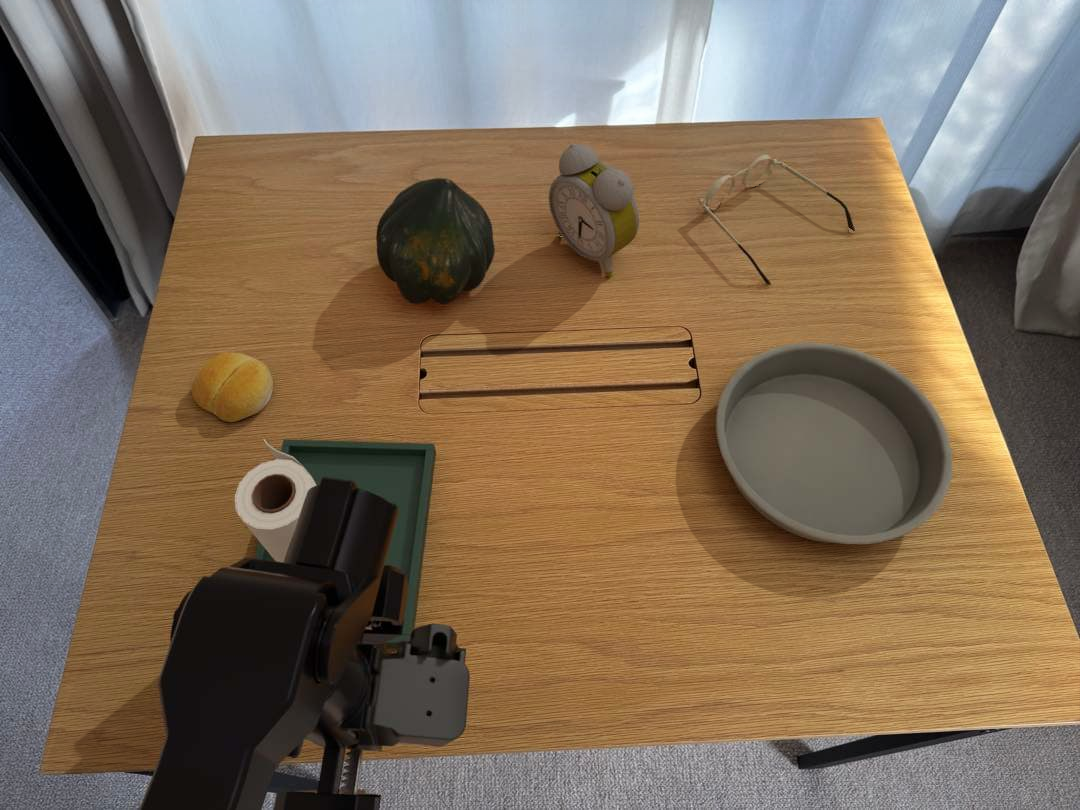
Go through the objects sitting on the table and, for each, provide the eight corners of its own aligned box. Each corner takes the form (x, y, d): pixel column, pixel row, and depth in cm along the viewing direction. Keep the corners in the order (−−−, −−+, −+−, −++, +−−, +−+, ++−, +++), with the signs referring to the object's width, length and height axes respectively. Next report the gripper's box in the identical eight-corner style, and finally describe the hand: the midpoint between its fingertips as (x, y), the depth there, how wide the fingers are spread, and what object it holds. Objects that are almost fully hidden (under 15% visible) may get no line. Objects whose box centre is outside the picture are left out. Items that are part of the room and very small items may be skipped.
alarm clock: (546, 237, 103) (546, 146, 90) (583, 213, 105) (588, 121, 93) (606, 287, 98) (615, 198, 85) (643, 261, 101) (658, 171, 88)
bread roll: (244, 434, 87) (232, 416, 83) (185, 401, 89) (171, 382, 86) (291, 382, 91) (282, 362, 87) (234, 351, 93) (222, 331, 90)
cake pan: (965, 557, 79) (986, 540, 75) (725, 561, 79) (735, 545, 75) (901, 362, 92) (916, 339, 88) (696, 365, 92) (702, 342, 88)
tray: (412, 648, 74) (408, 643, 72) (241, 642, 74) (234, 637, 73) (436, 452, 86) (434, 443, 84) (288, 448, 86) (283, 439, 84)
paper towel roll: (352, 621, 75) (291, 538, 57) (296, 605, 76) (218, 517, 58) (381, 554, 79) (332, 455, 61) (326, 539, 80) (262, 437, 61)
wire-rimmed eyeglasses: (776, 170, 110) (786, 141, 106) (857, 232, 103) (871, 204, 99) (687, 219, 105) (693, 191, 100) (766, 289, 98) (776, 262, 94)
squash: (344, 286, 91) (414, 217, 82) (368, 202, 100) (434, 130, 90) (441, 341, 99) (516, 284, 89) (455, 258, 107) (525, 197, 98)
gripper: (436, 871, 40) (463, 875, 53) (467, 535, 50) (483, 608, 63) (224, 863, 40) (303, 868, 53) (296, 529, 50) (348, 604, 63)
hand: (368, 726), depth 58 cm, fingers open, 9 cm apart
